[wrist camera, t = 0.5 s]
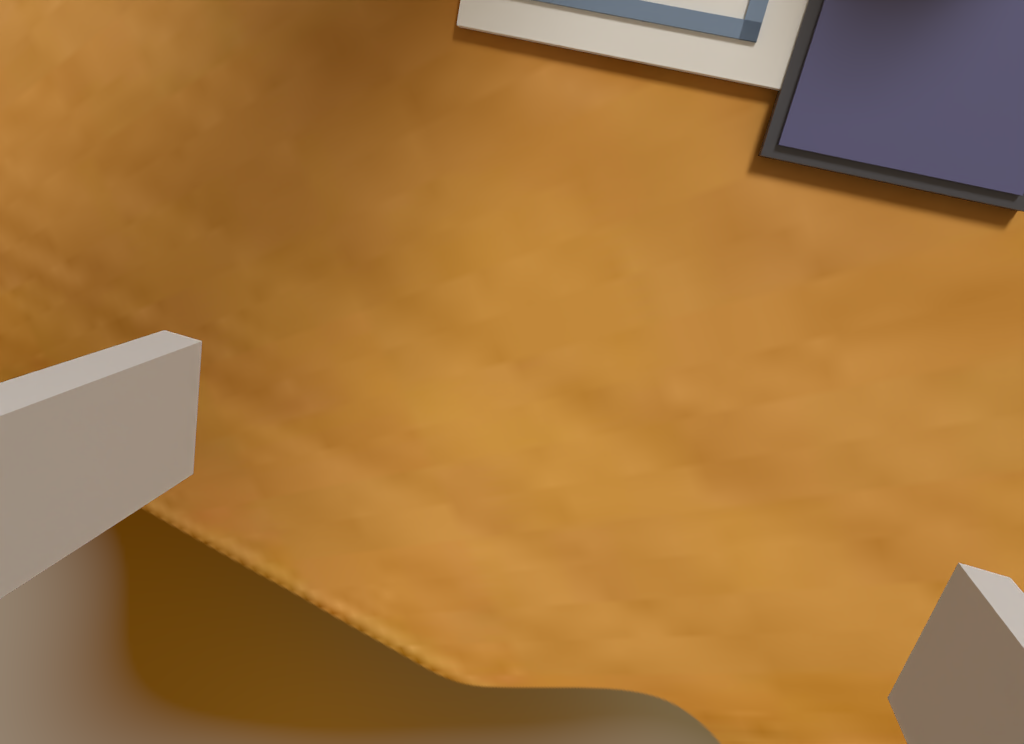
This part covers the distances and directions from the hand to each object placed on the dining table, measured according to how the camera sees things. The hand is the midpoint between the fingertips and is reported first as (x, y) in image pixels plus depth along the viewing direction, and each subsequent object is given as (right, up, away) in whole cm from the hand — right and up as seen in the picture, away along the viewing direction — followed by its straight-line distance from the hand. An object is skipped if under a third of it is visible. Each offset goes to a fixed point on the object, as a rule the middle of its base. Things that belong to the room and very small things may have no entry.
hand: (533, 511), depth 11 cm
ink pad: (+19, +17, +18) cm, 31 cm away
